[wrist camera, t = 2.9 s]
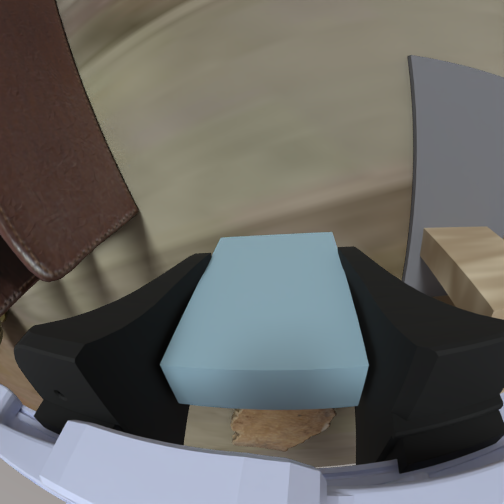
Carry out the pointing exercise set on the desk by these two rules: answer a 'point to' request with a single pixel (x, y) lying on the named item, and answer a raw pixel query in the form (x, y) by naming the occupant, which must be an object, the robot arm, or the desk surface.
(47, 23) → the letter holder
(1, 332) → the cup
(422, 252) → the tile
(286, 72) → the desk surface
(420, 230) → the felt runner
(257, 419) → the pottery shard
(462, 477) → the robot arm
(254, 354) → the tile
